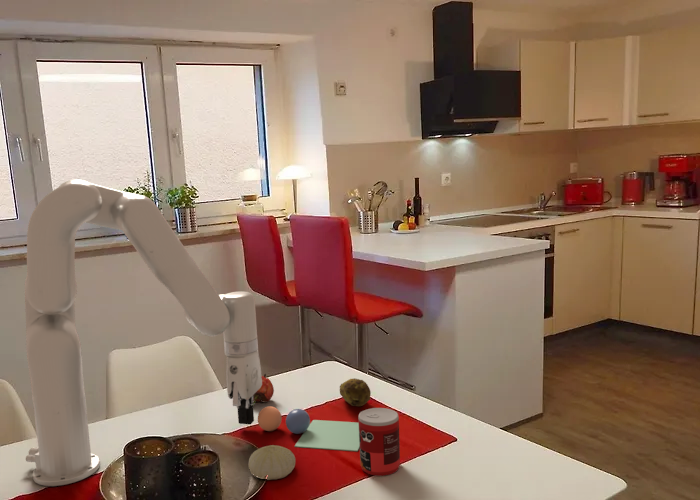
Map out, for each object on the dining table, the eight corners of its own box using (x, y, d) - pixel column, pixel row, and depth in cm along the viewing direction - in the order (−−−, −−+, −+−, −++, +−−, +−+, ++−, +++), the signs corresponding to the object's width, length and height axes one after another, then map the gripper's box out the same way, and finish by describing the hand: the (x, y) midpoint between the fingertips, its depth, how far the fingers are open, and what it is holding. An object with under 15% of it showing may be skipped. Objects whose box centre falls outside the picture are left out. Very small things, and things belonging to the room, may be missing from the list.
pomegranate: (269, 416, 160) (285, 383, 166) (253, 400, 155) (271, 366, 161) (247, 414, 164) (264, 381, 170) (231, 398, 160) (249, 365, 166)
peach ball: (271, 407, 142) (281, 429, 142) (278, 399, 148) (288, 421, 148) (250, 415, 144) (260, 438, 144) (258, 407, 149) (267, 429, 149)
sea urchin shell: (292, 475, 121) (262, 446, 121) (265, 501, 123) (236, 472, 123) (304, 453, 130) (276, 426, 130) (280, 477, 132) (252, 450, 132)
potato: (373, 396, 164) (372, 367, 163) (370, 416, 151) (369, 384, 150) (341, 396, 165) (340, 367, 164) (335, 416, 152) (334, 384, 151)
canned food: (360, 458, 130) (358, 407, 129) (399, 457, 130) (397, 406, 129) (359, 477, 123) (357, 423, 121) (401, 476, 123) (399, 422, 121)
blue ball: (278, 428, 142) (289, 409, 141) (286, 418, 147) (297, 400, 146) (298, 442, 141) (310, 423, 140) (305, 432, 147) (317, 413, 145)
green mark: (294, 446, 137) (294, 445, 137) (313, 420, 150) (313, 419, 150) (357, 451, 134) (357, 450, 134) (370, 424, 147) (370, 423, 147)
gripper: (243, 356, 136) (249, 437, 139) (268, 337, 151) (272, 410, 153) (211, 355, 138) (217, 435, 141) (238, 336, 152) (243, 409, 155)
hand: (246, 422), depth 147 cm, fingers closed
